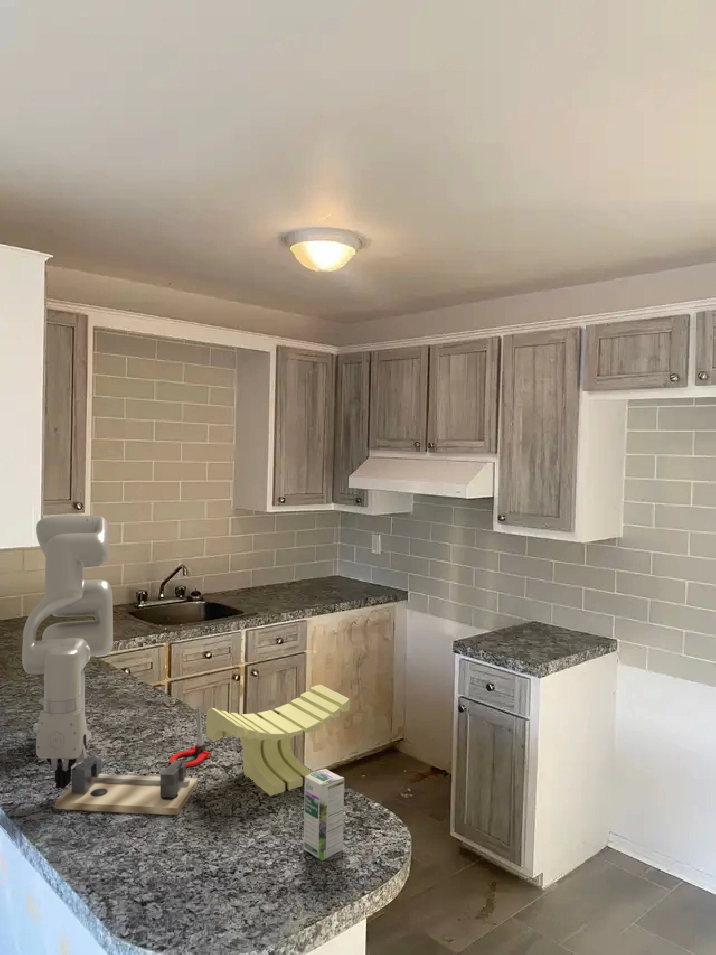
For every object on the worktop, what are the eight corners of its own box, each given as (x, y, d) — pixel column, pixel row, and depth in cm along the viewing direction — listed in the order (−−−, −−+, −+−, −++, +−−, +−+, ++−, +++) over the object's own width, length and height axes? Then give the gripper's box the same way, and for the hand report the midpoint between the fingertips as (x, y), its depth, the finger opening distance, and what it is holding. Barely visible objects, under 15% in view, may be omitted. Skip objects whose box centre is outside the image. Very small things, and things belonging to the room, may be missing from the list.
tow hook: (185, 772, 173) (214, 758, 180) (182, 720, 172) (212, 708, 179) (162, 763, 178) (191, 750, 185) (160, 713, 177) (189, 701, 184)
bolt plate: (55, 808, 154) (55, 776, 154) (85, 779, 168) (85, 749, 168) (177, 815, 152) (177, 782, 151) (197, 784, 166) (197, 755, 165)
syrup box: (302, 849, 139) (302, 776, 138) (325, 838, 143) (325, 766, 142) (321, 861, 135) (322, 786, 134) (344, 850, 139) (345, 776, 138)
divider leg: (71, 793, 157) (71, 769, 157) (88, 776, 165) (88, 754, 165) (84, 793, 157) (84, 770, 157) (101, 777, 165) (101, 754, 165)
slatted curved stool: (313, 749, 186) (314, 681, 186) (349, 771, 173) (349, 698, 173) (206, 779, 169) (206, 704, 168) (236, 806, 156) (236, 725, 155)
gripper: (21, 708, 155) (21, 792, 156) (87, 711, 154) (87, 795, 154) (39, 697, 163) (40, 776, 163) (102, 699, 161) (103, 780, 162)
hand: (63, 785), depth 159 cm, fingers closed
